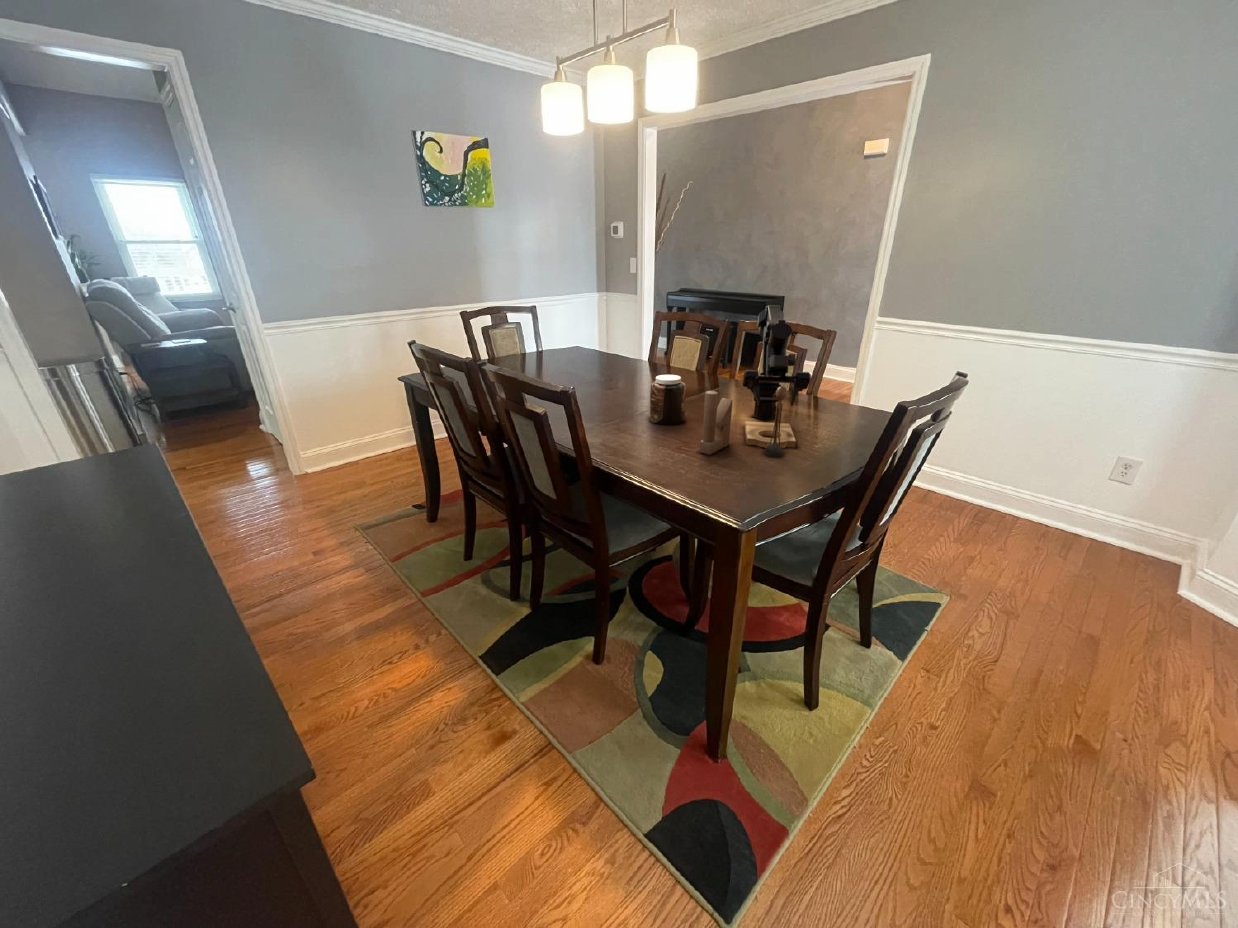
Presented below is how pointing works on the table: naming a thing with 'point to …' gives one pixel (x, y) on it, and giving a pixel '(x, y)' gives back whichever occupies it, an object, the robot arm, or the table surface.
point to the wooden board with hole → (768, 434)
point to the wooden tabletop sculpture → (774, 447)
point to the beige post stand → (715, 423)
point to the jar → (667, 400)
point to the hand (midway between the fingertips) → (775, 404)
